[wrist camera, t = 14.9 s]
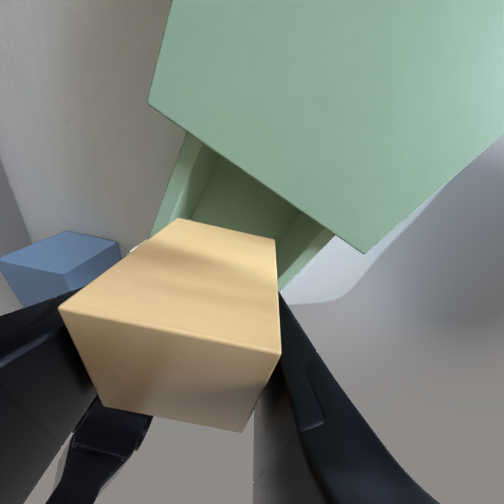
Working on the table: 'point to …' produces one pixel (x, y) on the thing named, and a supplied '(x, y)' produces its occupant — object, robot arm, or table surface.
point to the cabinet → (338, 98)
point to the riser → (57, 265)
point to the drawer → (238, 207)
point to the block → (182, 326)
